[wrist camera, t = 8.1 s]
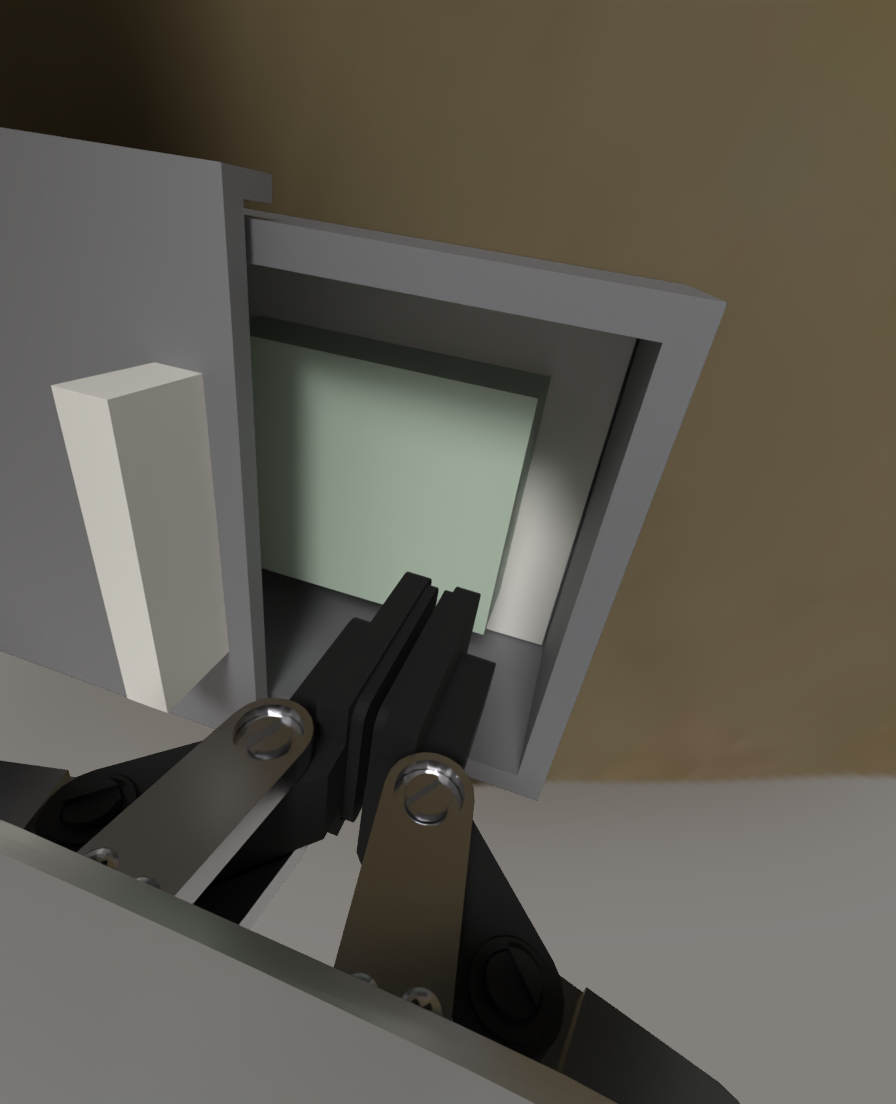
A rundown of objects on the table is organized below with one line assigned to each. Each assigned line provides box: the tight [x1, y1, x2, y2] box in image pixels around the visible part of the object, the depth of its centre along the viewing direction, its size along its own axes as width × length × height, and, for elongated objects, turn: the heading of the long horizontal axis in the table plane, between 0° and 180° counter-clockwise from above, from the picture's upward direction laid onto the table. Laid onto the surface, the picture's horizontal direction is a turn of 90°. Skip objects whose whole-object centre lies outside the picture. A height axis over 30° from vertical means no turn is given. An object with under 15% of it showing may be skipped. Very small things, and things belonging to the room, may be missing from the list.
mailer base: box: [244, 208, 727, 801], centre depth 17 cm, size 14×18×7 cm
